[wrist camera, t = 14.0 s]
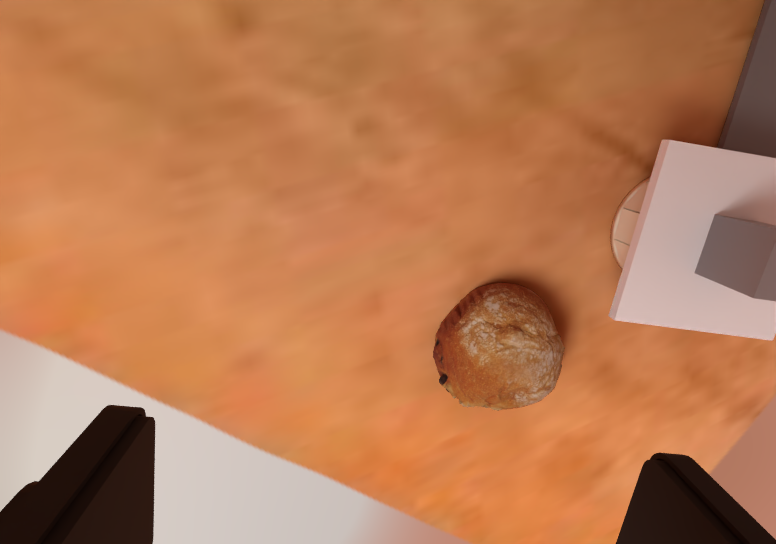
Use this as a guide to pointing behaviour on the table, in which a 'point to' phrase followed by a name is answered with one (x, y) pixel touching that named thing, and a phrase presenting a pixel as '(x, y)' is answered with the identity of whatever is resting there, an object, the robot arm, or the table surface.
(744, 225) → the lid
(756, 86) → the mat
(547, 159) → the table surface
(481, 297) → the bread roll
